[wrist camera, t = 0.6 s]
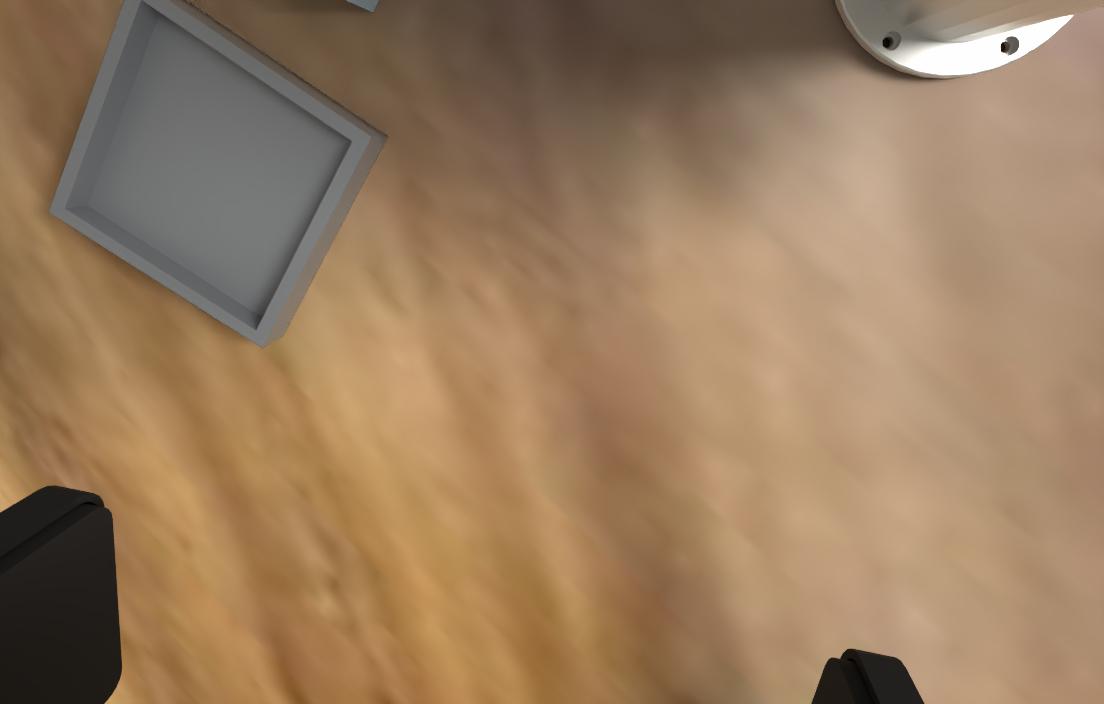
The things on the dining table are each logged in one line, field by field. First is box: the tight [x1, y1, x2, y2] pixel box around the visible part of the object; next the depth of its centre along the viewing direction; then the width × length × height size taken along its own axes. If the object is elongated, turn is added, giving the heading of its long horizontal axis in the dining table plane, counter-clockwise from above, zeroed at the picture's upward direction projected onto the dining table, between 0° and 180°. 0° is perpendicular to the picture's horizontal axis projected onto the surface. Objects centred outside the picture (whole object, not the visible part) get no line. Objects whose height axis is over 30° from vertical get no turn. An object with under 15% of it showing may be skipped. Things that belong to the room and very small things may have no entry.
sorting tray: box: [49, 0, 388, 348], centre depth 39 cm, size 15×15×2 cm
